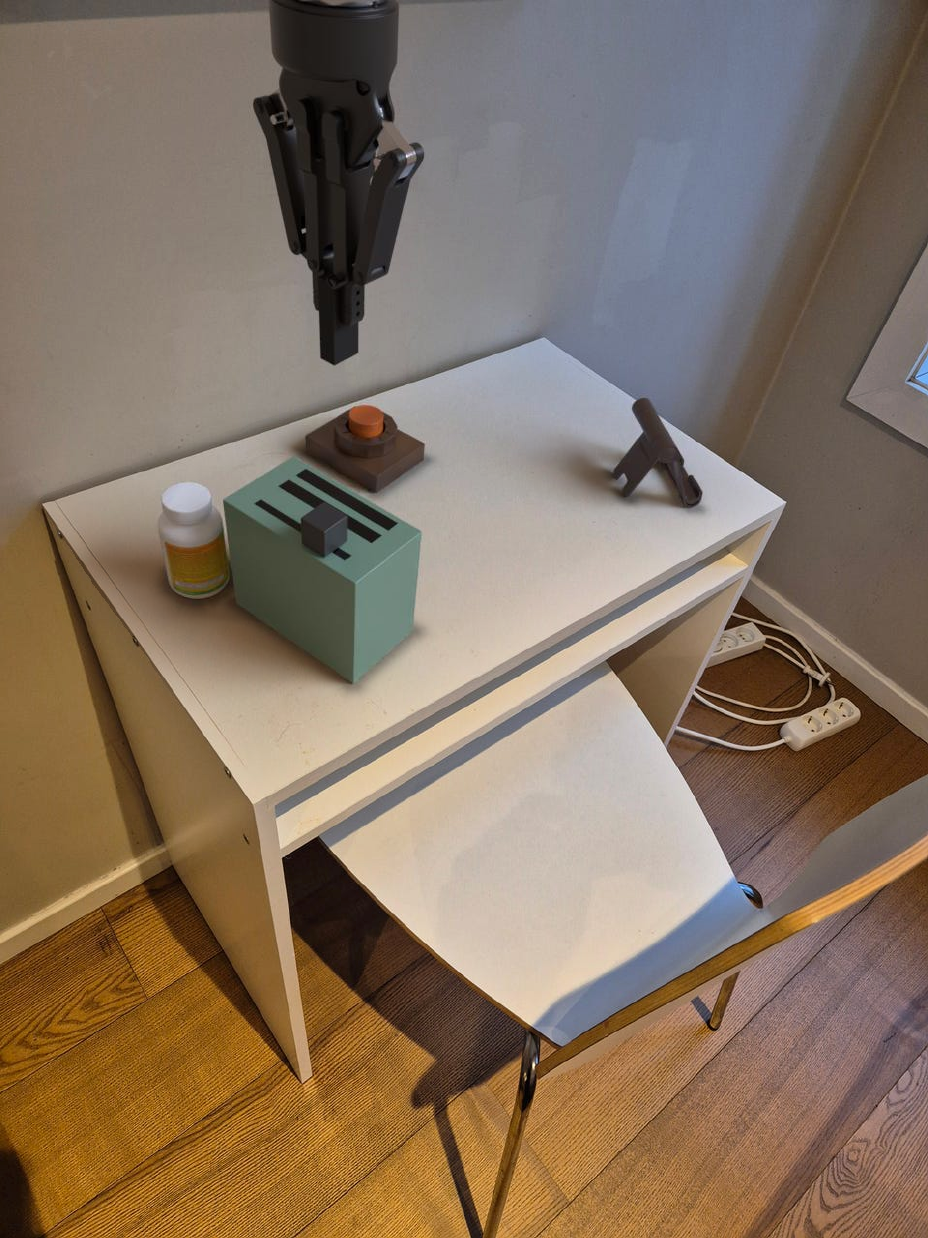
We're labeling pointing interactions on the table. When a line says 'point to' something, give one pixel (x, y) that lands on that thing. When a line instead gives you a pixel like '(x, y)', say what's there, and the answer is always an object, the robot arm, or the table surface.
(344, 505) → the toaster
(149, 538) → the table surface
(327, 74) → the robot arm
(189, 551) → the supplement bottle
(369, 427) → the button
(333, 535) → the slider
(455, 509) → the table surface
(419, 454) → the button block
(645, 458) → the tablet stand
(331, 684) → the table surface
